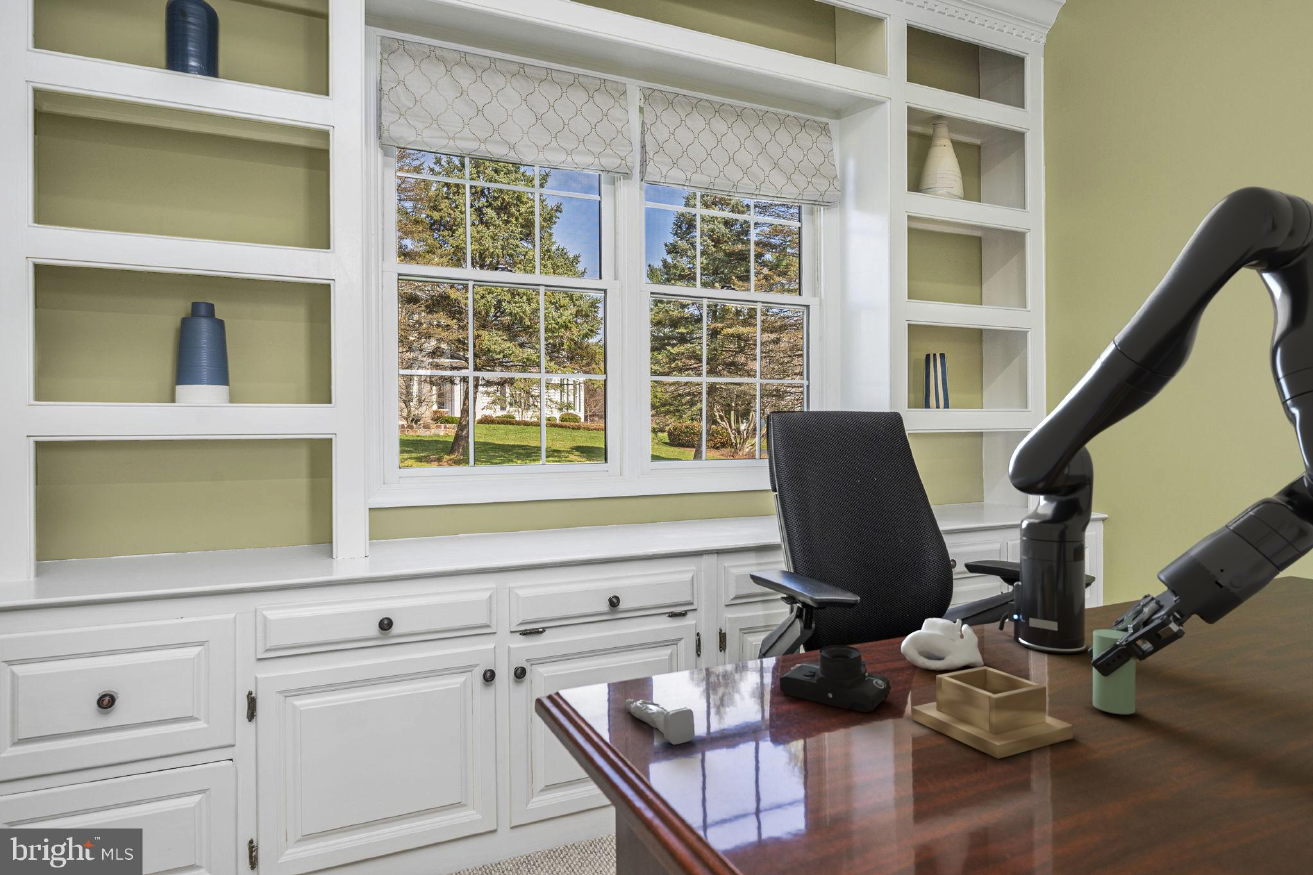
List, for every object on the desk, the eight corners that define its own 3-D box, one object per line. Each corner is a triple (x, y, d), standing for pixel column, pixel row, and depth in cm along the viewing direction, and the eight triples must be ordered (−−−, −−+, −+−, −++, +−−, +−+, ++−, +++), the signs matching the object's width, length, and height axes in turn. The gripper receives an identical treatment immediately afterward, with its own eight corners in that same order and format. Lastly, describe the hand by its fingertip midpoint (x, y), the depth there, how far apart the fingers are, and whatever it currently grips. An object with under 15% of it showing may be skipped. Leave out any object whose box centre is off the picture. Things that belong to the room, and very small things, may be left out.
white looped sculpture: (899, 672, 106) (889, 615, 111) (948, 689, 113) (937, 635, 117) (953, 656, 101) (940, 597, 106) (1001, 675, 107) (987, 619, 112)
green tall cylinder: (1084, 704, 92) (1085, 631, 92) (1107, 699, 94) (1107, 627, 94) (1120, 716, 88) (1120, 640, 88) (1143, 710, 90) (1143, 636, 90)
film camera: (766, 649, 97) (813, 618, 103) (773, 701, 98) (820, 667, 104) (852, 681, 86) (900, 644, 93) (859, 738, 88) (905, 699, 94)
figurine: (670, 747, 80) (667, 714, 80) (617, 721, 90) (615, 692, 91) (696, 738, 82) (693, 706, 82) (642, 714, 92) (639, 686, 92)
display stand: (911, 719, 88) (911, 672, 88) (982, 703, 93) (983, 659, 93) (998, 759, 77) (998, 706, 77) (1073, 738, 83) (1073, 689, 83)
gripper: (1177, 541, 94) (1067, 626, 99) (1202, 559, 81) (1074, 655, 86) (1228, 587, 91) (1113, 672, 97) (1263, 613, 79) (1128, 708, 84)
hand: (1095, 663), depth 91 cm, fingers closed on green tall cylinder, 4 cm apart
